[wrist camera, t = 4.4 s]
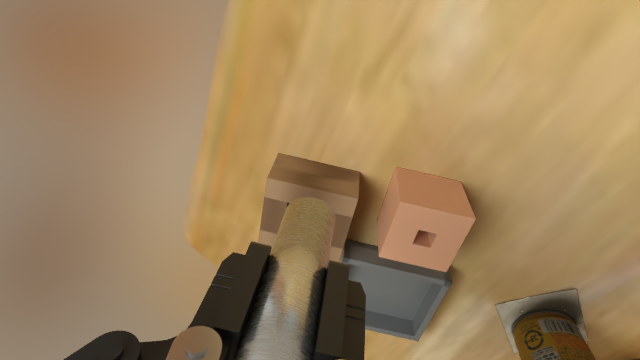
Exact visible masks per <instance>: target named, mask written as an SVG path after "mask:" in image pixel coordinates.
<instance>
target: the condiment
mask: <svg viewBox="0 0 640 360" xmlns="http://www.w3.org/2000/svg"><path fill="white" fill-rule="evenodd" d="M495 306H496V308H497V311H498V314H499V316H500V319H501V321H502V324H503V326H504V329H505V331H506V334H507V337H508V339H509V342H510V344H511V347H512V349H513V352H514V354H517V353H519V355H520V358H521V360H595V358H594V356H593V354H592V353H591V351H590V349H589V347H588V345H587V344H586V342H588V338H587V334H586V331H585V326H584V321H583V317H582V312H581V308H580V304H579V300H578V295H577V290H576V289H573V290H568V291H559V292H553V293H549V294H542V295H537V296H533V297H525V298H523V299H520V300H515V301H508V302H506V303H502V304H497V305H495ZM564 310H566V311H564ZM521 311H523V312H522V313H521ZM519 314H521V315H519Z"/></svg>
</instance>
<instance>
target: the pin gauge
mask: <svg viewBox="0 0 640 360" xmlns="http://www.w3.org/2000/svg"><path fill="white" fill-rule="evenodd" d="M334 225H335V215H334V212H333V210H332V209H331V207H330V206H329V205H328V204H327V203H325V202H324V201H322V200H320V199H318V198H314V197H301V198H298V199H295V200H294V201H292V202H291V203H290V204H289V205H288V206H287V208H286V211H285V214H284V216H283V219H282V222H281V225H280V228H279V230H278V233H277V236H276V239H275V242H274V244H273V247H272V250H271V254H270V257H269V260H268V263H267V266H266V269H265V271H264V274H263V277H262V280H261V283H260V286H259V288H258V291H257V294H256V297H255V300H254V303H253V305H252V308H251V311H250V314H249V317H248V319H247V322H246V325H245V328H244V331H243V334H242V336H241V339H240V342H239V345H238V348H237V350H236V351H235V354H234V356H233V359H232V360H312V359H313V353H314V346H315V340H316V334H317V328H318V321H319V315H320V309H321V302H322V296H323V290H324V284H325V277H326V271H327V267H328V263H329V257H330V251H331V245H332V238H333V232H334Z"/></svg>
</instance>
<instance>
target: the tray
mask: <svg viewBox="0 0 640 360" xmlns="http://www.w3.org/2000/svg"><path fill="white" fill-rule="evenodd" d="M339 262H340V263H344V264H349V277H348V280H351V281H355V282H360V283H361V285H362V287H363V290H364V292H365V294H366V309H365V312H366V313H365V329H367V330H371V331H375V332H380V333H384V334H388V335H393V336H397V337H402V338H406V339H410V340H415V341H419V339H420V337H421V335H422V334H423V332H424V330H425V329H426V327H427V325H428V323H429V322H430V320H431V318H432V316H433V315H434V313H435V311H436V309H437V308H438V306H439V304H440V303H441V301H442V299H443V297H444V296H445V294H446V292H447V290H448V289H449V287H450V285H451V283H452V280H451V276H450V272H449V269H448V270H447V272H443V271H438V270H434V269H430V268H425V267H421V266H417V265H412V264H408V263H403V262H399V261H395V260H390V259H386V258H382V257H379V254H378V246H373V245H369V244H365V243H360V242H356V241H352V240H347V239H346V240H345V243H344V246H343V249H342V253H341V256H340V259H339Z"/></svg>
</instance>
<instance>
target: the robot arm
mask: <svg viewBox="0 0 640 360" xmlns="http://www.w3.org/2000/svg"><path fill="white" fill-rule="evenodd" d="M270 254H271V246H269V245H265V244H261V243H256V242H251V243H250V245H249V248H248V250H247V252H246V254H245V255H242V254H238V253H234V252H233V253H232V254H231V255H230V256H228V257H227V258H226V259H225V260H224V261H222V263H221V265H220V267H219V269H218V271H217V274H216V276H215V277H214V279H213V281H212V284H211V286H210V287H209V289H208V291H207V293H206V295H205V297H204V299H203V301H202V303H201V305H200V307H199V309H198V311H197V313H196V315H195V317H194V319H193V321H192V323H191V324H190V326H189V327H188V328H187V329H186V330H184V331H182V332H181V333H180V334H179V335H178V336H176V337H174V338H171V339H168V340H163V341H152V342H139V341H138V339H137V338H136V337H135V336H134V335H133V334H131V333H129V332H126V331H112V332H109V333H105V334H104V335H101V336H99V337H98V338H96V339H95V340H93V341H92V342H90V343H88V344H87V345H85V346H84V347H83V348H81V349H79V350H78V351H76V352H75V353H73V354H72V355H70V356H69V357H67V358H66V359H64V360H232V359H233V356H234V354H235V351H236V350H237V348H238V345H239V342H240V339H241V336H242V334H243V331H244V328H245V325H246V322H247V319H248V317H249V314H250V311H251V308H252V305H253V303H254V300H255V297H256V294H257V291H258V288H259V286H260V283H261V280H262V277H263V274H264V271H265V269H266V266H267V263H268V260H269V257H270ZM348 277H349V264H344V263H340V262H336V261H332V260H329V263H328V267H327V271H326V277H325V284H324V290H323V296H322V302H321V309H320V315H319V321H318V328H317V334H316V340H315V346H314V353H313V359H312V360H364V345H365V313H366V312H365V309H366V294H365V292H364V290H363V287H362V285H361V283H360V282H355V281H351V280H348Z"/></svg>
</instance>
